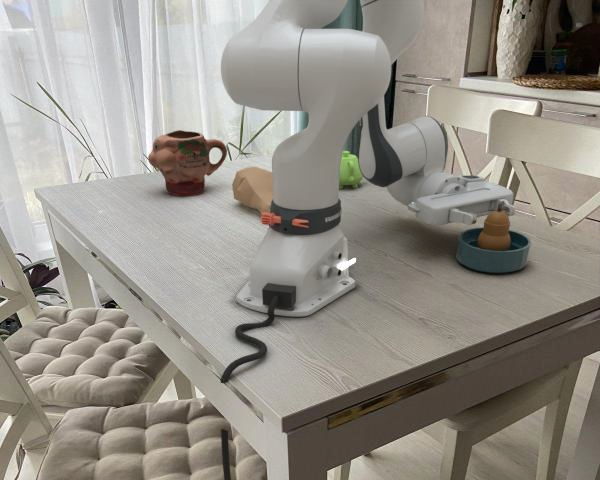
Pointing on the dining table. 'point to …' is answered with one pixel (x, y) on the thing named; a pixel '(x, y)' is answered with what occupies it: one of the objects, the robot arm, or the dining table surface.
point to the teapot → (349, 170)
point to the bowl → (492, 253)
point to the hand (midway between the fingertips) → (493, 216)
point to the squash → (254, 188)
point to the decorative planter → (185, 160)
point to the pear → (495, 232)
